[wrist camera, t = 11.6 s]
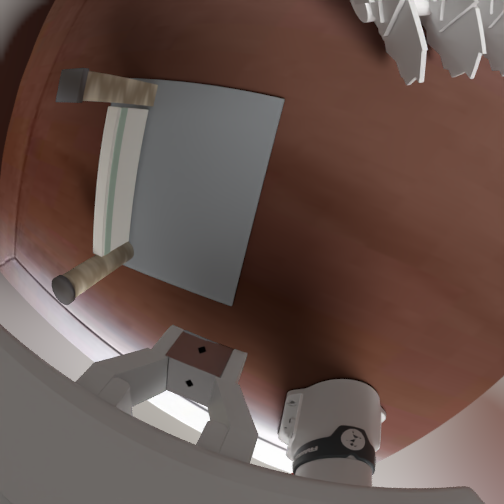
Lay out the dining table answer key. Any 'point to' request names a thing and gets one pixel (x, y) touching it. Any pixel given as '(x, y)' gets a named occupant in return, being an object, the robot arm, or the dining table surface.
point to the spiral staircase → (438, 33)
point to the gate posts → (102, 90)
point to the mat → (200, 184)
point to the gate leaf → (117, 177)
